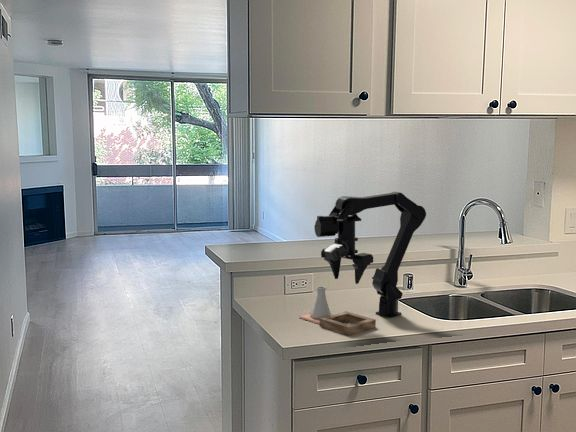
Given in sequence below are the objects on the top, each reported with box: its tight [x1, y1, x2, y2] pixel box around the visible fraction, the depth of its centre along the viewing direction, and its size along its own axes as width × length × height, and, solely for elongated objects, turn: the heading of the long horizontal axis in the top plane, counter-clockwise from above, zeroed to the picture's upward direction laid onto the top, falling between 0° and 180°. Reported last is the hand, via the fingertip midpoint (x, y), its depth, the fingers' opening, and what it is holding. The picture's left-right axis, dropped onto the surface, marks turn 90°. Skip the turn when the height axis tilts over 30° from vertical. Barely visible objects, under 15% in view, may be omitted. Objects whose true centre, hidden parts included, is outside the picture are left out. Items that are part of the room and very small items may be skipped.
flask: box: [310, 285, 332, 319], centre depth 204 cm, size 7×7×10 cm
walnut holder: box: [319, 311, 377, 336], centre depth 196 cm, size 13×13×2 cm
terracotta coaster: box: [299, 313, 334, 325], centre depth 205 cm, size 10×10×1 cm
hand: (346, 281), depth 204 cm, fingers open, 9 cm apart
